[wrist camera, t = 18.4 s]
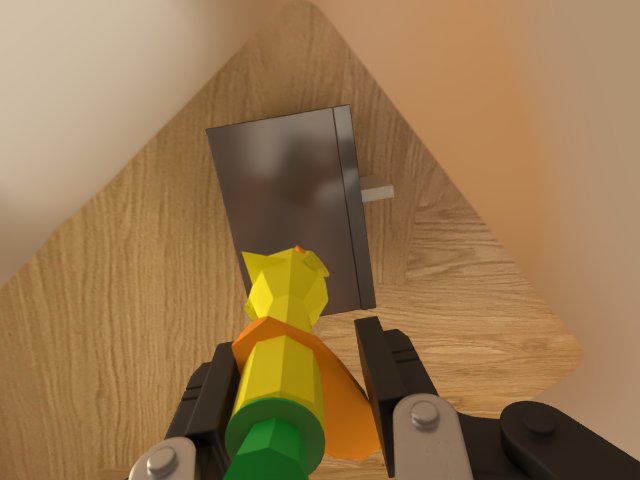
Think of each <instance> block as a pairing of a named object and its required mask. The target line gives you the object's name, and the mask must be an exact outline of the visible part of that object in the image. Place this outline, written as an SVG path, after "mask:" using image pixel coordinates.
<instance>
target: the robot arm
mask: <svg viewBox="0 0 640 480" xmlns="http://www.w3.org/2000/svg"><path fill="white" fill-rule="evenodd" d="M354 323H355V330H356V336H357V343H358V349H359V355H360V362H361V367H362V372H363V377H364V382H365V386H366V389H367V393H368V397H369V401H370V405H371V409H372V413H373V417H374V421H375V425H376V429H377V433H378V437H379V440H380V444H381V448H382V452H383V456H384V460H385V464H386V468H387V472H388V476H389V478H393V477H395V480H640V462H639V461H638V460H636V459H635V458H633V457H631V456H630V455H628V454H627V453H625V452H624V451H622V450H620V449H619V448H618V447H616V446H614V445H613V444H611V443H609V442H608V441H607V440H605V439H603V438H602V437H600V436H599V435H597V434H596V433H594V432H593V431H591V430H589V429H588V428H586V427H585V426H583V425H582V424H580V423H579V422H577V421H575V420H574V419H572V418H571V417H569V416H568V415H566V414H564V413H563V412H561V411H559V410H558V409H556V408H554V407H552V406H549V405H546V404H543V403H539V402H533V401H520V402H515V403H512V404H510V405H508V406H507V407H506V408H505V409H504V410H503V411H502V413H501V416H500V419H492V418H481V417H473V416H468V415H465V414H462V413H459V412H457V411H456V410H455V409H454V407H453V406H452V405H451V404H450V403H449V402H448V401H446V400H445V399H443V398H441V397H439V395H438V393H437V391H436V389H435V387H434V385H433V383H432V381H431V379H430V377H429V376H428V374H427V372H426V370H425V368H424V366H423V364H422V362H421V360H420V359H419V356H418V354H417V352H416V350H415V349H414V347H413V345H412V343H411V341H410V339H409V337H408V336H406V335H405V334H404V333H402V332H401V331H399V330H398V329H393V330H387V331H383V329H382V327H381V324H380V322H379V319H378V317H377V316H373V317H368V318H362V319H357V320H354ZM233 342H234V341H232V342H227V343H221V344H218V346H217V348H216V351H215V354H214V356H213V359H212V362H207V363H203V364H202V365H201V366H200V367H199V368H198V369H197V370H196V371H195V372H194V373H193V375H192V376H191V378H190V380H189V383H188V385H187V387H186V391H185V392H184V394H183V397H182V399H181V402H180V404H179V406H178V408H177V411H176V413H175V415H174V418H173V420H172V422H171V425H170V427H169V429H168V432H167V434H166V436H165V438H164V440H163V441H161V442H159V443H157V444H156V445H154V446H152V447H151V448H150V449H148V450H147V451H146V452H145V453H144V454H143V455H142V456H141V457H140V458H139V459H138V460H137V462H136V463H135V465H134V466H133V468H132V470H131V473H130V476H129V478H127V479H125V480H223V478H224V476H225V474H226V473H227V471H228V469H229V467H230V465H231V464H232V462H231V460H230V458H229V456H228V454H227V451H226V446H225V433H226V429H227V426H228V423H229V421H230V419H231V415H232V411H233V407H234V403H235V399H236V395H237V391H238V387H239V383H240V379H241V376H240V373H239V370H238V367H237V363H236V358H235V357H234V354H233V351H232V348H231V346H232V344H233Z"/></svg>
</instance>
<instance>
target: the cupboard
mask: <svg viewBox="0 0 640 480" xmlns="http://www.w3.org/2000/svg"><path fill="white" fill-rule="evenodd" d="M205 131H206V135H207V139H208V143H209V147H210V151H211V155H212V159H213V162H214V166H215V170H216V174H217V178H218V182H219V186H220V190H221V194H222V198H223V202H224V206H225V210H226V214H227V218H228V222H229V226H230V230H231V234H232V238H233V242H234V246H235V250H236V254H237V258H238V262H239V266H240V270H241V274H242V278H243V282H244V286H245V290H246V294H247V298H249V295H250V292H251V289H252V286H253V284H252V281H251V278H250V275H249V272H248V269H247V266H246V263H245V261H244V258H243V255H242V252H241V251H243V252H248V253H253V254H259V255H264V256H269V255H273V254H276V253H279V252H282V251H285V250H288V249H292V248H293V249H294V248H295V247H296V246H297V245H298V246H299V247H301V248H302V249H304V250H305V251H312V252H314V254H315V255H316V256H317V257H318V258H319V259H320V260H321V262H322V263H323V264H324V266H325V267H326V268H327V270H328V272H329V276H328V277H324V280H325V282H326V288H327V295H328V302H327V304H326V305H325V307H324V309H323V311H322V312H321V314H320V316H326V315H331V314H337V313H343V312H348V311H354V310H360V309H362V310H367V309H373V308H376V301H375V293H374V286H373V278H372V270H371V263H370V255H369V247H368V240H367V232H366V225H365V217H364V209H363V202H362V194H361V186H360V179H359V171H358V163H357V156H356V148H355V140H354V133H353V125H352V117H351V110H350V104H347V105H342V106H336V107H331V108H325V109H319V110H313V111H308V112H302V113H296V114H290V115H284V116H279V117H273V118H267V119H261V120H256V121H250V122H244V123H238V124H233V125H227V126H221V127H215V128H209V129H205ZM320 316H319V317H320Z"/></svg>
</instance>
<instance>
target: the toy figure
mask: <svg viewBox="0 0 640 480" xmlns="http://www.w3.org/2000/svg"><path fill="white" fill-rule="evenodd" d="M241 252H242V255H243V258H244V261H245V263H246V266H247V269H248V272H249V275H250V278H251V281H252V284H253V286H252V289H251V292H250V295H249V298H248V300H247V302H246V304H245V306H244V310H245V312H246V313H247V314H248V315H249V317H250V318H251V319H252V321H253V322H252V323H251V324H250V325H248V326H247V327H246V328H245V329H244V331H243V332H242V333H241V334H240V335H239V337H238V338H237V339H236V340H235V341H234V342H233V344H232V346H231V348H232V351H233V354H234V357H235V358H236V363H237V367H238V370H239V373H240V376H241V379H240V383H239V387H238V391H237V395H236V399H235V403H234V407H233V411H232V415H231V419H230V421H229V423H228V426H227V429H226V433H225V446H226V451H227V454H228V456H229V458H230V460H231V462H232V464H231V465H230V467H229V469H228V471H227V473H226V474H225V476H224V478H223V480H309V478H308V476H309V475H310V474H311V473H312V472H313V471H315V470H316V468H317V467H318V465H319V464H320V463H321V460H322V458H323V455H324V453H325V454H327V455H330V456H332V457H334V458H343V459H357V460H363V459H365V458H366V457H368V456H369V455H371V454H372V453H374V452H375V451H377V450H378V449H380V448H381V444H380V440H379V437H378V433H377V429H376V425H375V421H374V417H373V413H372V409H371V405H370V402H369V400H368V397H367V395H366V393H365V391H364V390H363V389H362V387H361V386H360V385H359V384H358V382H357V381H356V380H355V378H354V377H353V376H352V375H351V373H350V372H349V371H348V369H347V368H346V367H345V366H344V364H343V363H342V362H341V360H340V359H339V358H338V357H337V356H336V355H335V354H334V353H333V352H332V351H331V350H330V349H329V348H328V347H327V346H326V345H325V344H324V343H323V342H322V341H321V340H320V339H319V338H318V337H317V336H315V335H314V333H313V330H312V326H311V325H314V324H315V323H316V321H317V319H318V318H319V316H320V314H321V312H322V311H323V309H324V307H325V305H326V304H327V302H328V295H327V288H326V282H325V280H324V277H328V276H329V272H328V270H327V268H326V267H325V266H324V264H323V263H322V262H321V260H320V259H319V258H318V257H317V256H316V255H315V254H314V252H312V251H305V250H304V249H302V248H301V247H299V246H298V245H297V246H296V247H295V248H294V249H293V248H292V249H288V250H285V251H282V252H279V253H276V254H273V255H269V256H264V255H259V254H253V253H248V252H243V251H241Z"/></svg>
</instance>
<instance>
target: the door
mask: <svg viewBox="0 0 640 480" xmlns="http://www.w3.org/2000/svg"><path fill="white" fill-rule="evenodd" d="M359 179H360V186H361V194H362V202H369V201H374V200H380V199H386V198H392V197H394V189H393V185H392V184H391V183H389V182H387V181H386V180H384V179H383V178H381V177H379V176H378V175H376V174H375V175H369V176H363V177H359Z"/></svg>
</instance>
